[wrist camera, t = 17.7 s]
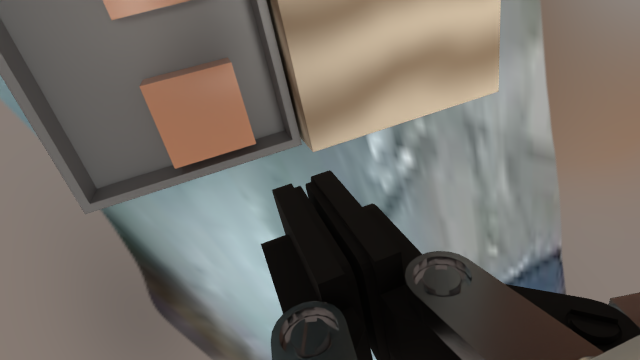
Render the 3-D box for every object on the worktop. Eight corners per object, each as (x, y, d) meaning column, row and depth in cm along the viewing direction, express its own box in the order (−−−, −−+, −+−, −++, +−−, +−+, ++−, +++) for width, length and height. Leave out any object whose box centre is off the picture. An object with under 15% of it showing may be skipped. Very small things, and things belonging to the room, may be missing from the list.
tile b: (231, 62, 25) (227, 57, 27) (139, 86, 24) (142, 79, 26) (256, 143, 28) (250, 133, 30) (175, 168, 27) (175, 156, 29)
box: (-96, -134, 19) (-139, -155, 17) (212, -179, 22) (216, -202, 20) (93, 195, 29) (85, 214, 26) (292, 132, 32) (301, 144, 29)
